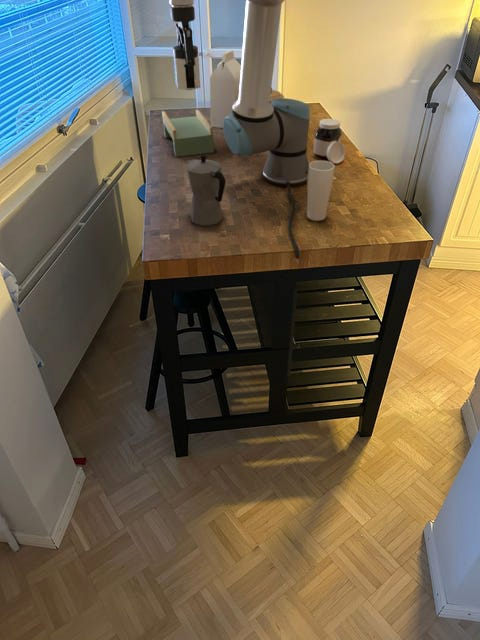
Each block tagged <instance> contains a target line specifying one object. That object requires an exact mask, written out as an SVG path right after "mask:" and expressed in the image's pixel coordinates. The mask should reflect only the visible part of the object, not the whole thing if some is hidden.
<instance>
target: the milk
mask: <svg viewBox="0 0 480 640" xmlns="http://www.w3.org/2000/svg"><path fill="white" fill-rule="evenodd" d="M216 66H217V67H216V68H215V69H214V70H213V71H212V72H211V74H210V78H209V97H210V98H209V108H210V111H209V115H210V116H209V117H210V118H209V120H210V122H209V124H210V125H211V126H212V127H213V128H217V129H219V128H220V129H223V121H224V119H225V117H226V116H228V115H232V107H233V103H234V102H235V101H236V100H237V99H239V86H240V73H241V63H239V61H237V59H236V58H235V54H234V50H232V49H230V50H228V51H225V52H223V53H222V57H221V61H220V62H219V63H218V64H217V65H216Z"/></svg>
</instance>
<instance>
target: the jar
mask: <svg viewBox="0 0 480 640" xmlns="http://www.w3.org/2000/svg"><path fill="white" fill-rule="evenodd" d="M198 47H199V46H197V45H194V44H193V49H194V58H195V65H194V79H195V88H187V85H186V71H185V67H184V65H185V64H186V62H185V56H184V49H183V46H177V45H176V46H173V47H172V51H173V53H172V54H173V57H172V58H173V68H174V78H175V80H174V81H175V87H176V89H177V90H181V91H193V90H196V89H200V88H201V74H200V72H201V71H200V57H199V48H198ZM189 62H191V61H189Z"/></svg>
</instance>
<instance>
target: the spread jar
mask: <svg viewBox="0 0 480 640" xmlns="http://www.w3.org/2000/svg"><path fill="white" fill-rule="evenodd" d="M340 126H341V121H340V120H338V119H335V118H322V119H321V120H319V125H318V127H317V130H316V132H315V135H314V138H313V139H314V140H313V154H314V156H315V157H316V158H318V159H319V160H323V161H328V162H331V163H333V164H339V163H341V162H342V161H343V160H344V159H345V156H346V148H345V145H344V144H343V143H342V138H343V131H342V129H341V127H340Z"/></svg>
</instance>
